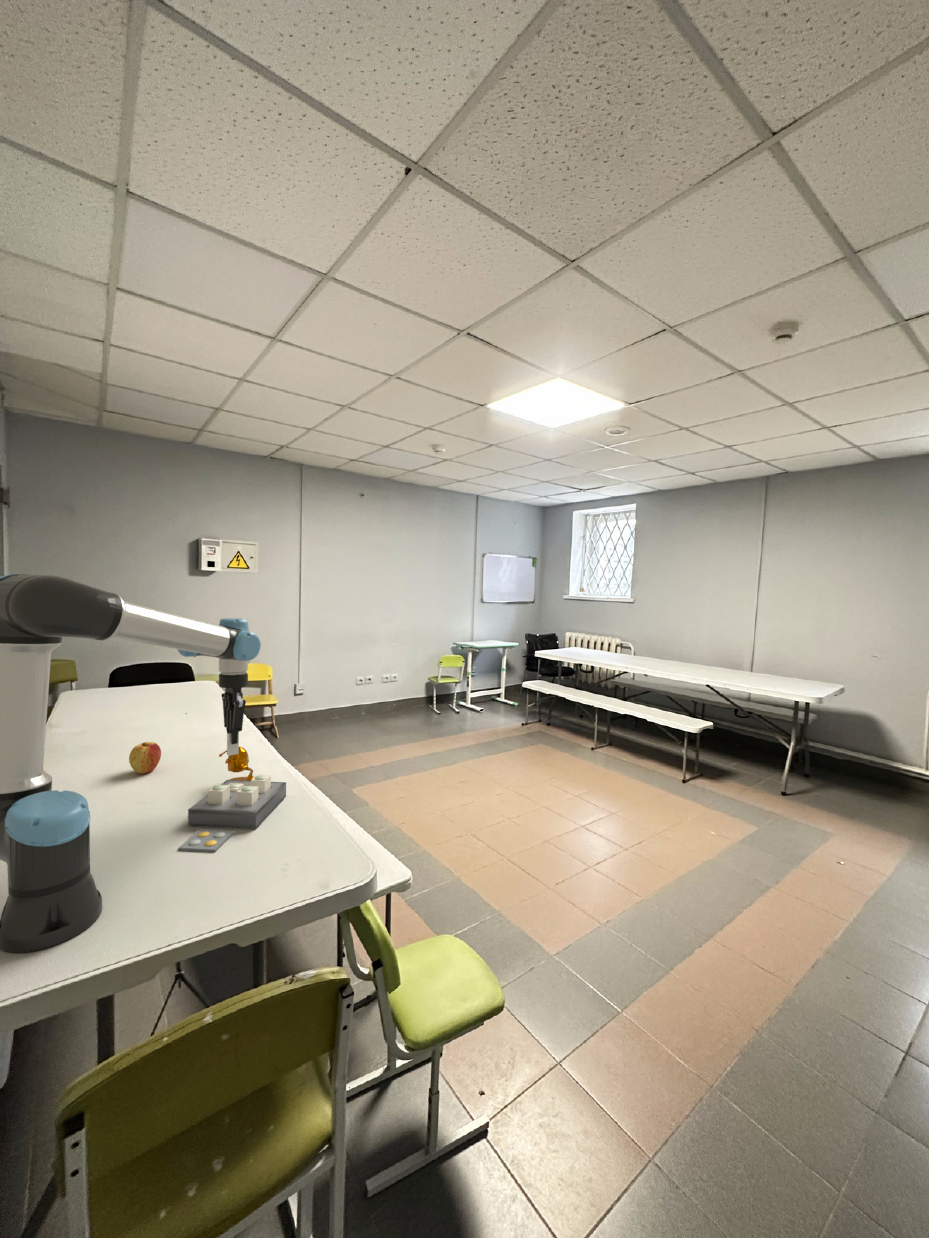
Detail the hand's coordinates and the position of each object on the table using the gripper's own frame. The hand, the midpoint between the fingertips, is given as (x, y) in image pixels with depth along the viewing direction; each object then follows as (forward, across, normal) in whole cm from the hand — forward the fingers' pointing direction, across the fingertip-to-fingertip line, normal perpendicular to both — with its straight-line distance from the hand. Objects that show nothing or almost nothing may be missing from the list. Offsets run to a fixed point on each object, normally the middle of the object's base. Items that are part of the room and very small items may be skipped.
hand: (232, 753), depth 143 cm
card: (+15, -18, +12) cm, 26 cm away
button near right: (+11, -11, 0) cm, 16 cm away
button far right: (+11, -6, -6) cm, 14 cm away
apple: (+15, +43, +14) cm, 47 cm away
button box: (+15, -6, 0) cm, 16 cm away
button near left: (+11, -6, +5) cm, 13 cm away
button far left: (+14, 0, 0) cm, 14 cm away
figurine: (+15, +14, -7) cm, 21 cm away
